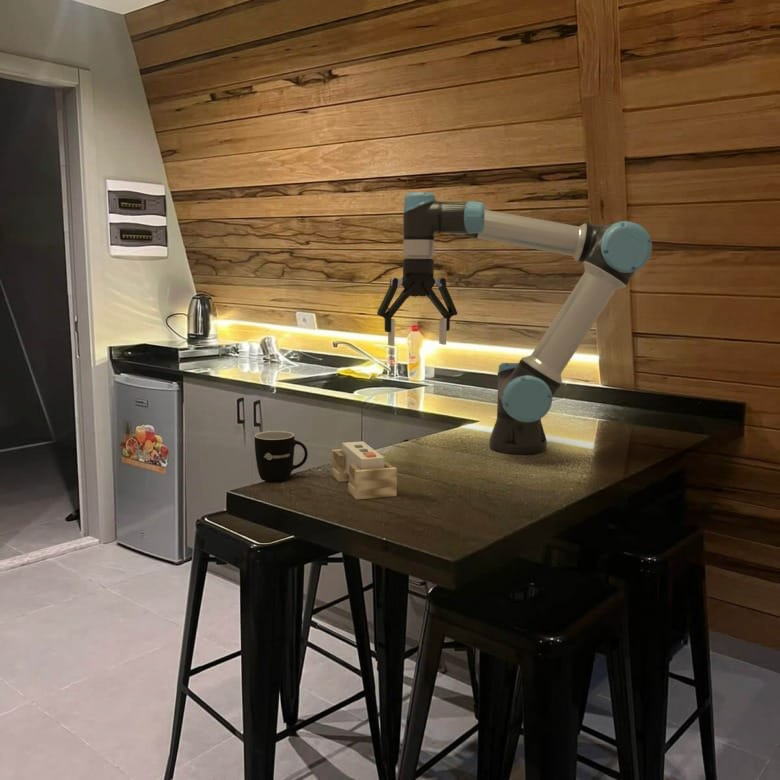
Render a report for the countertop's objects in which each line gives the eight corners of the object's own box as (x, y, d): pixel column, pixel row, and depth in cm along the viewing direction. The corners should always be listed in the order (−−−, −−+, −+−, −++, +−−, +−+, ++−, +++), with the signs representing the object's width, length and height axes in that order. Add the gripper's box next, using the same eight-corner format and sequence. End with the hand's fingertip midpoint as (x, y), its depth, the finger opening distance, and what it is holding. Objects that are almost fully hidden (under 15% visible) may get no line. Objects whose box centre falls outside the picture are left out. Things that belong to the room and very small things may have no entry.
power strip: (362, 466, 185) (362, 439, 184) (384, 485, 170) (384, 455, 169) (341, 468, 183) (341, 440, 182) (361, 486, 168) (361, 457, 167)
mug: (257, 485, 176) (257, 440, 175) (253, 474, 185) (252, 431, 183) (311, 481, 180) (311, 437, 178) (304, 471, 188) (303, 429, 186)
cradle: (368, 472, 188) (368, 447, 187) (396, 495, 169) (396, 468, 168) (331, 475, 185) (331, 449, 184) (355, 499, 166) (355, 471, 165)
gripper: (459, 258, 201) (457, 342, 205) (364, 257, 193) (364, 344, 197) (471, 258, 194) (469, 345, 198) (374, 257, 186) (373, 347, 190)
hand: (417, 344), depth 197 cm, fingers open, 13 cm apart
